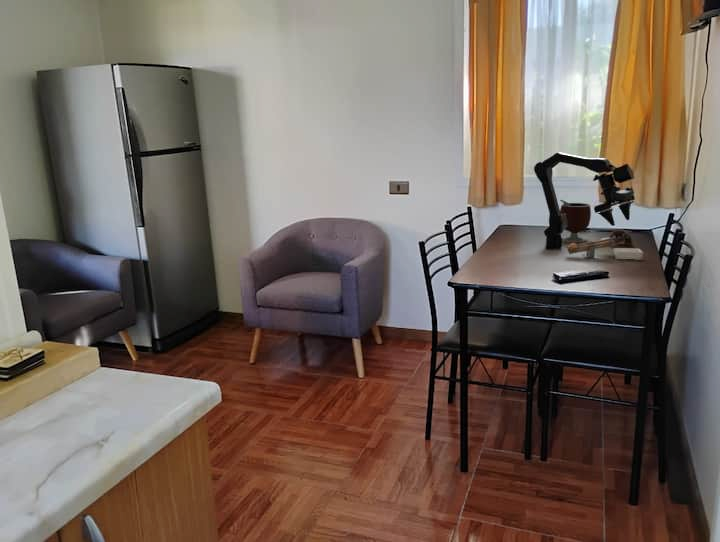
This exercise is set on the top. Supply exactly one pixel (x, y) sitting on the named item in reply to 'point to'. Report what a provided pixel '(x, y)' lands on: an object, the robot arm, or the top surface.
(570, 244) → the ball
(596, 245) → the tan flat board
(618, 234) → the pottery mug
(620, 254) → the dish
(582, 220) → the mate gourd
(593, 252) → the fulcrum
